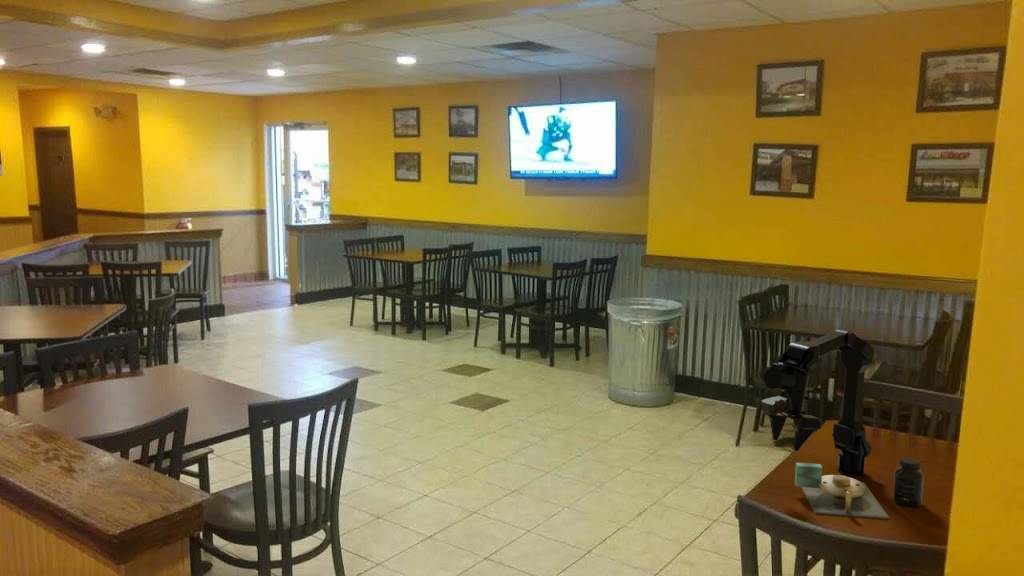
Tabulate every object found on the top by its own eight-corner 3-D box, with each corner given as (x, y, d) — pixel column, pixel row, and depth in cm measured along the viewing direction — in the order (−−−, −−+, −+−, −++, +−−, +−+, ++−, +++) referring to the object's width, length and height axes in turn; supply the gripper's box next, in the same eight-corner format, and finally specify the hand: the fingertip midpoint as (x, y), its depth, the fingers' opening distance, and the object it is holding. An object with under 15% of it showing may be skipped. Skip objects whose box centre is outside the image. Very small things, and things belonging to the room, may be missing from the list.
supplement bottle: (895, 495, 202) (899, 453, 200) (923, 502, 197) (927, 459, 196) (890, 503, 196) (893, 461, 195) (918, 511, 192) (922, 467, 190)
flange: (857, 480, 204) (859, 460, 203) (870, 499, 192) (872, 477, 192) (791, 476, 207) (792, 456, 206) (800, 494, 196) (801, 472, 195)
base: (863, 483, 209) (864, 463, 208) (888, 519, 188) (890, 497, 187) (797, 479, 212) (798, 459, 211) (814, 513, 191) (816, 491, 190)
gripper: (749, 379, 206) (740, 433, 207) (791, 395, 188) (780, 454, 189) (783, 382, 209) (774, 436, 210) (827, 398, 191) (817, 456, 192)
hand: (785, 445), depth 200 cm, fingers open, 9 cm apart
